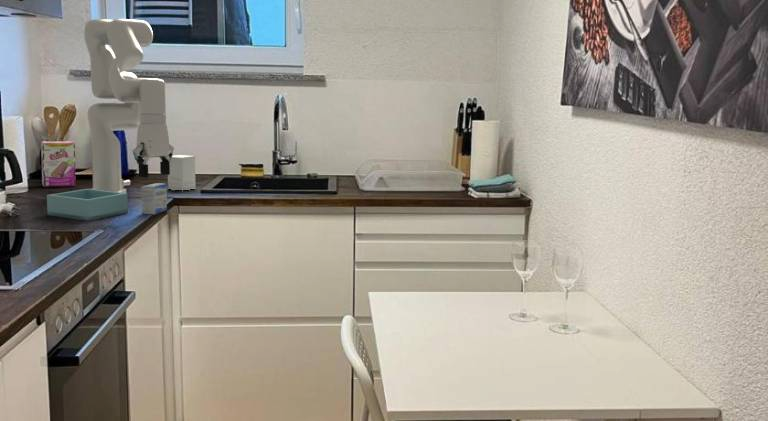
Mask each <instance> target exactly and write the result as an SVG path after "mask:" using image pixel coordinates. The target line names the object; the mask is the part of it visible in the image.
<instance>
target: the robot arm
mask: <svg viewBox="0 0 768 421" xmlns="http://www.w3.org/2000/svg"><path fill="white" fill-rule="evenodd" d="M85 23H86V24H85V25H84V30H83V31H84V33H83V35H84V36H83V37H84V41H85V44H86V48H87V51H88V54H89V60H90V83H91V84H90V85H91V92H92V95H93V96H94V97H95V98H97V99H101V100H102V99H103V100H117V101H119V102H98V103H94V104H92V105H91V106H90V107H89V108H88V109H87V120H88V125H89V130H90V131H89V132H90V138H91V139H90V140H91V142H90V144H91V166H92V168H91V170H92V189H94V190H103V191H112V192H120V193H127V189H126V188H125V186H130V185H131V180H130V179H126V180H124V179H123V178H122V157H121V156H122V155H121V150H122V148H121V142H120V139H119V138H118V137H117V135H116V134H115V133H114V131H116V132H117V131H134V130H137V133H136V134H137V135H136V147H135V148H133V149H132V150H131V151H132V153H133V154H132V155H133V157H134V160H135V161H136V164H137V165H138V166H137V167H138V177H139V178H145V179H147V178H149V164H148V162H149V160H150V159H151V158H159V159H160V163H159V166H160V167H159V168H160V169H159V171H160V175H163V176H168V175H169V174H170V161H171V157H172V156H174V155H173V153H174V150H175V147H174V146H173V145H171V144H170V138H169V131H168V126H167V119H166V118H167V114H166V113H167V112H166V111H167V110H166V109H167V108H166V84H165V81H164V80H163V79H161V78H150V77H149V78H148V77H137V75H136V74H134V73H133V72H130V71H128V70H131V69H134V68H135V67H137V66H139V65H140V64H141V63H142V62H143V59H144V51H143V50H142V48H147V47H149V46H151V44H152V42H153V39H154V33H153V30H152V27H151V25H150V24H149V23H148V22H147V21H145V20H140V19H139V20H138V19H128V18H127V19H126V18H116V19H107V18H106V19H105V18H93V19H90V20H88V21H87V22H85ZM109 46H110V47H109Z"/></svg>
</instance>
